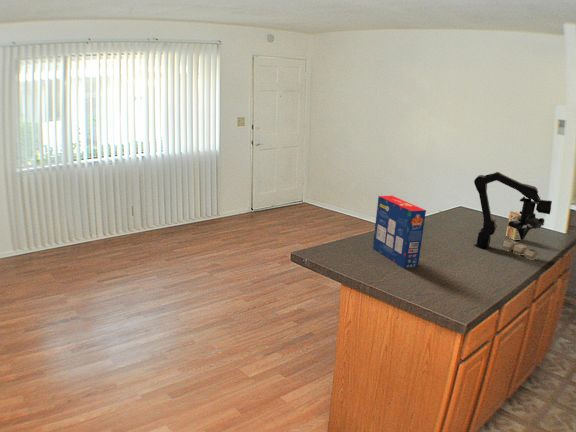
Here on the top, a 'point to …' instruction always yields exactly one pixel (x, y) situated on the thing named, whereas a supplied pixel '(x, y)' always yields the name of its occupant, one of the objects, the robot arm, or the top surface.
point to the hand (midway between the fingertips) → (522, 239)
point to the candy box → (512, 231)
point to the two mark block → (509, 245)
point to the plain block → (519, 249)
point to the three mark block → (531, 253)
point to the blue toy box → (399, 231)
